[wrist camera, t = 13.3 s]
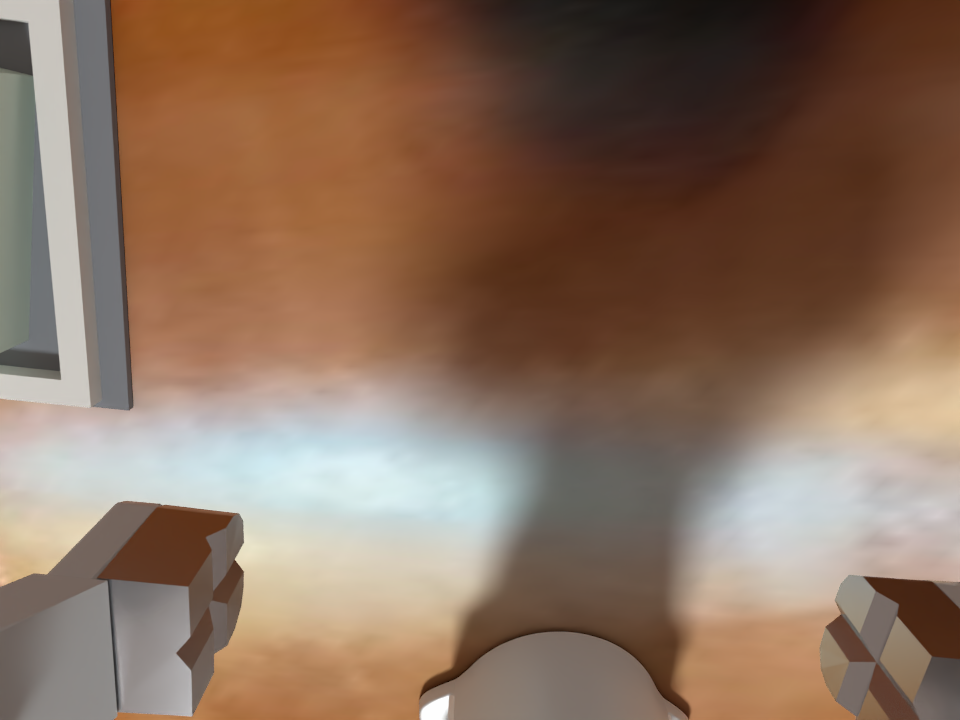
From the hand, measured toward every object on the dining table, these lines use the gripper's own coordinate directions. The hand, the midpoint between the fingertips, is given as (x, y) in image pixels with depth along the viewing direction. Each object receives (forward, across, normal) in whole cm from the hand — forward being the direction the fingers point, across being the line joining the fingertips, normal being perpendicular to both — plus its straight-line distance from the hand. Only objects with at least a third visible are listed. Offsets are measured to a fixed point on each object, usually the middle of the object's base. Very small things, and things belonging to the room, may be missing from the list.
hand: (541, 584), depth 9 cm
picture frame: (+29, +27, +1) cm, 40 cm away
